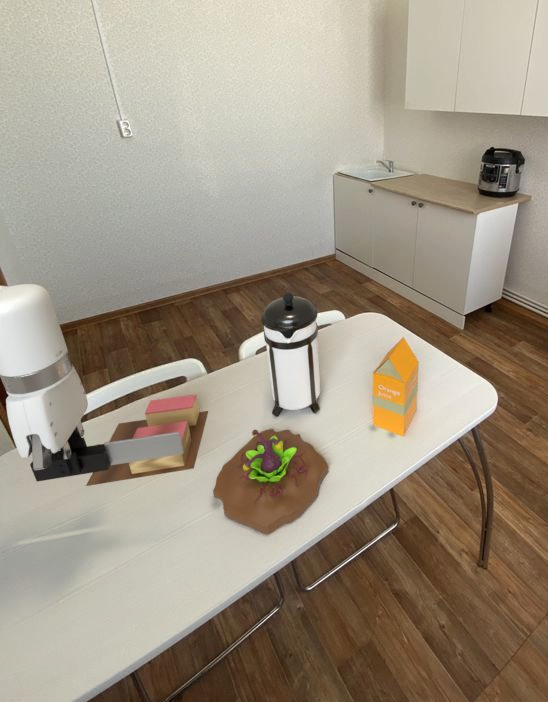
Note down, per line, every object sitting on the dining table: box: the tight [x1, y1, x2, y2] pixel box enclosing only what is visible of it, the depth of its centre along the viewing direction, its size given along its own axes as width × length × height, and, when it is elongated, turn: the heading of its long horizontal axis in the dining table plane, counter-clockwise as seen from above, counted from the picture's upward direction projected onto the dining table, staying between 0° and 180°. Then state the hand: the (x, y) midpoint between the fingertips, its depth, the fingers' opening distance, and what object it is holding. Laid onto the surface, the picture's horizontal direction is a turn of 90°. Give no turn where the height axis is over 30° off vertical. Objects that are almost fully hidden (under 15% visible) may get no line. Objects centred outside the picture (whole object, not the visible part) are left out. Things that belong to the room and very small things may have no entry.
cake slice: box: [144, 393, 201, 427], centre depth 88 cm, size 10×4×6 cm, turn 100°
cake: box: [85, 410, 209, 487], centre depth 83 cm, size 20×16×6 cm
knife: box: [29, 432, 184, 482], centre depth 61 cm, size 21×2×4 cm, turn 101°
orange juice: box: [372, 336, 420, 437], centre depth 87 cm, size 8×9×20 cm
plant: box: [212, 428, 329, 536], centre depth 74 cm, size 20×20×11 cm
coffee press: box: [260, 292, 321, 418], centre depth 93 cm, size 17×16×30 cm
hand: (74, 466), depth 60 cm, fingers closed on knife, 2 cm apart
